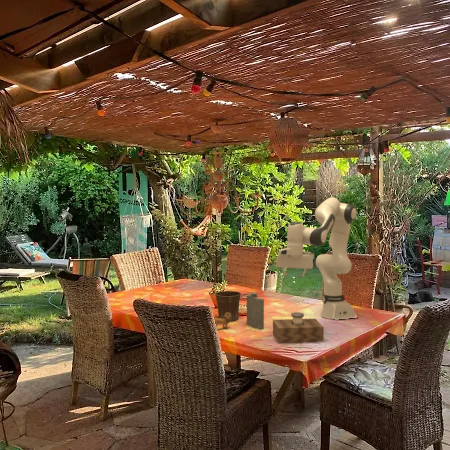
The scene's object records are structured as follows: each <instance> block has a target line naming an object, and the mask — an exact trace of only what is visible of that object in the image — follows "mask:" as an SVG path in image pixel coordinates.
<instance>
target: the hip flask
mask: <svg viewBox="0 0 450 450" xmlns="http://www.w3.org/2000/svg"><path fill="white" fill-rule="evenodd" d="M264 301H265V298H261V297H258V292H254V291H253V292H250V293H247V294H246V324H247V325H248V326H250V327H252V328H254V329H257V330H260V331H261V330H264V329H265V314H264V313H265V302H264Z"/></svg>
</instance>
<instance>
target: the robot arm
mask: <svg viewBox="0 0 450 450" xmlns="http://www.w3.org/2000/svg"><path fill="white" fill-rule="evenodd" d="M357 213H358V212H357V208H356V206H355V205H353V204H351V203H350V204H349V203H344V202H340V200H339V199H337V198H336V197H331V196H330V197H328V198H326V199H325V200H324V201H322V202H321V203H320V205H318V206H317V207H316V209H315V212H314V217H315V219H316V220H317V222H318V223H319V224H321V226H320V227H306V226H304V224H303V222H301V221H291V222H289V223H288V225H287V234H286V235H287V236H286V240H287V244H286V247H285V248H281V249H279V250H278V254H277V257H276V262H275V266H276V268H279V269H280V268H282V272H283V274H284V277H287V276H288V272H286V269H303V272H302V273H301V277H302V278H304V277H305V273H306V272H307V270H308V269H309V270H311V269H313V268H314V259H315V267H316V268H317V269H318V270H319V271H320V274H321V277H322V281H323V293H322V305H323V306H322V309H321V314H320V316H321V317H322V318H324V319H329V320H333V319H335V320H334V321H340V320H339V319H346V318H353V317H355V315H356V313H355V309H354V307H353V306H352V305H351V304H350V303H349V302H347V300H348V296H347V295H344V294H342V293H343V291H342V290H343V283H342V280H341V279H340V278H339V277H338V275H342V274H343V275H345V274H348V273H349V272H351V270H352V261H351V260H350V258H349V257H348V256H349V255H348V253H347V252H348V251H347V250H348V248H347V246H348V241H349V236H350V234H351V233H350V231H351V223H352V222H353V221H354V220H355V219H356V217H357ZM329 234H330V236H329ZM328 236H329V239H328V240H329V241H328V245H329V247H330V248H331V250H332V251H331V253H332V254H328V253H323V254H319V255H318V256H317V257H316V258H315V255H314V253H313V252H311V251H304V245H308V246H313V247H314V246H315V247H322V246H323V245H324V244H325V243H326V241H327V238H328ZM337 274H338V275H337ZM346 320H347V319H346Z"/></svg>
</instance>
